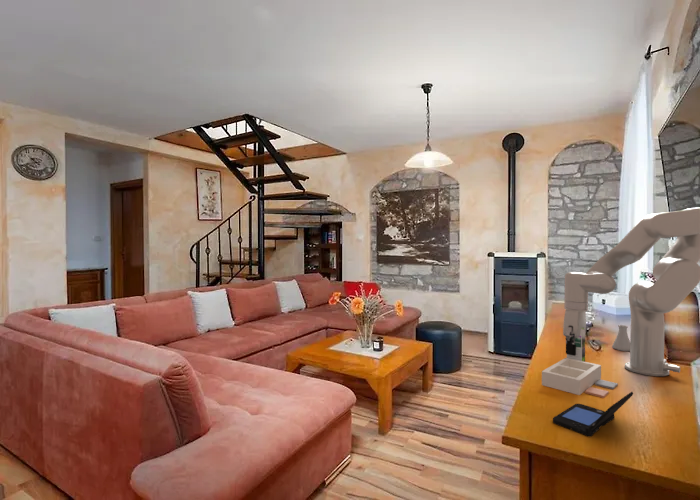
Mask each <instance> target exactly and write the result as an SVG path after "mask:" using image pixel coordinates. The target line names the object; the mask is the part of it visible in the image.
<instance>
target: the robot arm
mask: <svg viewBox="0 0 700 500" xmlns="http://www.w3.org/2000/svg"><path fill="white" fill-rule="evenodd" d="M663 238H664V239H666V238H667V239H668V238H676V240H675V242H674V243H673V245H672V246H671V247H670V249H668V251H666V253H665V254H664V255H663V256H662V258H660V260H659V261H658V262H657V263H656V264H655V265H654V267H653V269H652V276H653V277H654V278H655V279H656V281H655V282H652V281H648V280H647V281H646V280H645V281H640V282H637V283H634V284H633V285H632V286H631V288H630V289H629V292H628V304H629V310H630V311H629V312H630V330H629V331H630V337H629V340H630V351H629V361H628V362H626V363H624V368H625V369H626V370H628V371H630V372H632V373H635V374H640V375H644V376H650V377H666V376H669V375H670V374H671V373H670V372H673V373H674V372H675V373H679V374H680V372H681V366H678V365H676V364H671V363H668V362H667V359H666V358H665V326H666V324H665V314H667V313H670V312H671V311H673V310H675V309H676V308H677V307H679V305H680V304H681V303H682V302H684V300H686V298H687V297H688V296H689V295H690V294H691V292H693V290H694V289H695V288H696V287H697V286H698V285H699V283H700V265H699V264H698V262H699V261H700V207H699V206H697V207H691V208H686V209H681V210H675V211H668V212H657V213H650V214H647V215H645V216H643V217H641V219H640V220H639V221H638V222H637V223H636V224H635V225H634V226H633V227H632V228H631V229H630V231H629V232H627V234H625V235H624V237H623V238H622V239H621V240H620V241H619V242H618V243H617V244H616V245H615V246H614V247H613V248H612V247H611V249H610V250H609V251H607V252H606V253H605V254H604V255H603V256H600V258H599V259H598V260H597V261H595V263H594V264H593V265H592V266H591V267H590V268H589V269H588V270H587V271H586V273H585V272H580V271H569V272H566V273H565V275H564V306H563V307H564V309H563V310H565V312H564V316H563V331H562V335H563V336H564V337H565V354H566V355H567V354H569V355H574V356H575V355H576V345H575V341H576V338H578V337H580V332H581V329H582V328H584V327H585V334H586V333H587V314H586V313H587V312H588V311H589V293H591V294H592V293H594V294H600V295H605V294H606V295H607V294H610V293H612V292H614V290H615V288H616V285H617V283H616V280H615V277H613V276H614V275H615V274H616V273H618V272H619V271H620V270H621V269H623V268H625V267H627V266H629V265H632V264H634V263H636V262H639V261H640V260H641V259H643V258H644V256H645V255H646V254H647V253H648V252H649V251H650V250H651V249H652V248H653V247H654V246H655V244H657V243H658V242H659V241H660V239H663ZM572 335H575V336H572ZM572 338H573V340H572Z"/></svg>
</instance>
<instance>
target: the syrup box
mask: <svg viewBox="0 0 700 500" xmlns="http://www.w3.org/2000/svg"><path fill="white" fill-rule="evenodd" d="M572 336H575V335H572ZM572 340H573V338H572ZM575 345H576V355H575V356H574V355H569V354H566V358H569V359H574V360H579V361H584V362H586V333H585V327H584V328H582V329H581V332H580V337H578V338H576V341H575Z"/></svg>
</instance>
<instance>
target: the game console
mask: <svg viewBox="0 0 700 500" xmlns="http://www.w3.org/2000/svg"><path fill="white" fill-rule="evenodd" d="M633 395H634V392H633V391H631V392H629V393H627V394H626V395H625V396H623V397H622V398H621V399H619V400H617V402H615V403H614V404H612V405H611V406H609V408H607V409H606V410H602V409H599V408H596V407H592V406H588V405H585V404H582V403H575V404H573V405H571V406H570V407H568V408H567V409H565V410H563V411H562V412H560V413H559V414H557V415H555V416H554V417H552V423H553V424H555V425H557V426H559V427H563V428H564V429H567V430H572V432H576V433H578V434H580V435H583V436H586V437H589V438H591V437H592V436H594V434H596V433H597V432H598V431H599V430H600V428H602V427H603V426H606V425H607V424H608V423H610V422H611V421H613V420H614V419H615V413H616V412H617V411H618V410H619V409H620V408H622V407H623V405H624V404H626V403H627V401H628V400H629V399H630V398H632V396H633Z"/></svg>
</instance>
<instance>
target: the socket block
mask: <svg viewBox="0 0 700 500" xmlns="http://www.w3.org/2000/svg"><path fill="white" fill-rule="evenodd" d="M593 385H594V386H597V387H602V388H606V389H610V390H614V389H616V387H618V382H613V381H609V380H604V379H602V365H601V364H598V363H594V362H588V361H585V362H584V361H579V360H574V359H569V358H567V357H564V358H563V359H561V360H559V361H557V362H556V363H554V364H552V365H550V366H548V367H547V368H545V369H543V370H542V371H541V386H544V387H548V388H552V389H556V390H558V391H563V392H567V393H570V394H573V395H577V396H581V394H583V393H584V394H587V395H591V396H595V397H599V398H602V399H604V398H605V397H607V395H608V394H609V393H610V392H609V391H608V390H606V389H602V388H601V389H600V388H597V387H593Z"/></svg>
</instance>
